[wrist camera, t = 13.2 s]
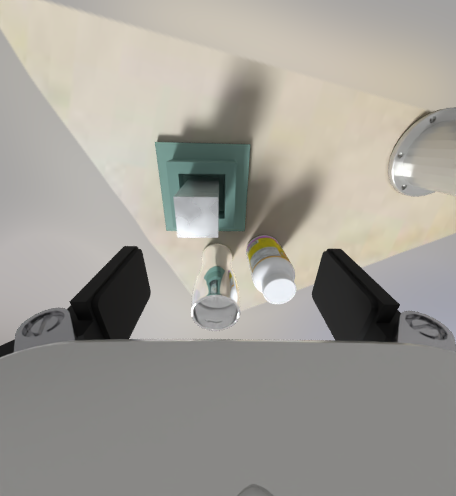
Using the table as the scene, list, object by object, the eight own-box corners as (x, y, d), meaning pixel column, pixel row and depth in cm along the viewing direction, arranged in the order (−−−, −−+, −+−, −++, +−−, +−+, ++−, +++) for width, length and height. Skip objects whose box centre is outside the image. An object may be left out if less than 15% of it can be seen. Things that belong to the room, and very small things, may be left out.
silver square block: (218, 177, 32) (218, 197, 20) (218, 205, 34) (218, 237, 22) (190, 176, 31) (173, 196, 20) (192, 204, 34) (177, 237, 22)
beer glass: (207, 235, 37) (200, 287, 24) (240, 248, 39) (250, 303, 26) (194, 264, 40) (182, 324, 27) (226, 275, 42) (229, 337, 29)
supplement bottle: (278, 261, 41) (301, 307, 29) (246, 264, 41) (256, 312, 29) (279, 231, 38) (305, 270, 26) (244, 235, 38) (255, 275, 26)
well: (249, 144, 30) (254, 144, 26) (243, 229, 37) (247, 240, 33) (156, 141, 30) (145, 141, 25) (167, 228, 36) (160, 240, 32)
